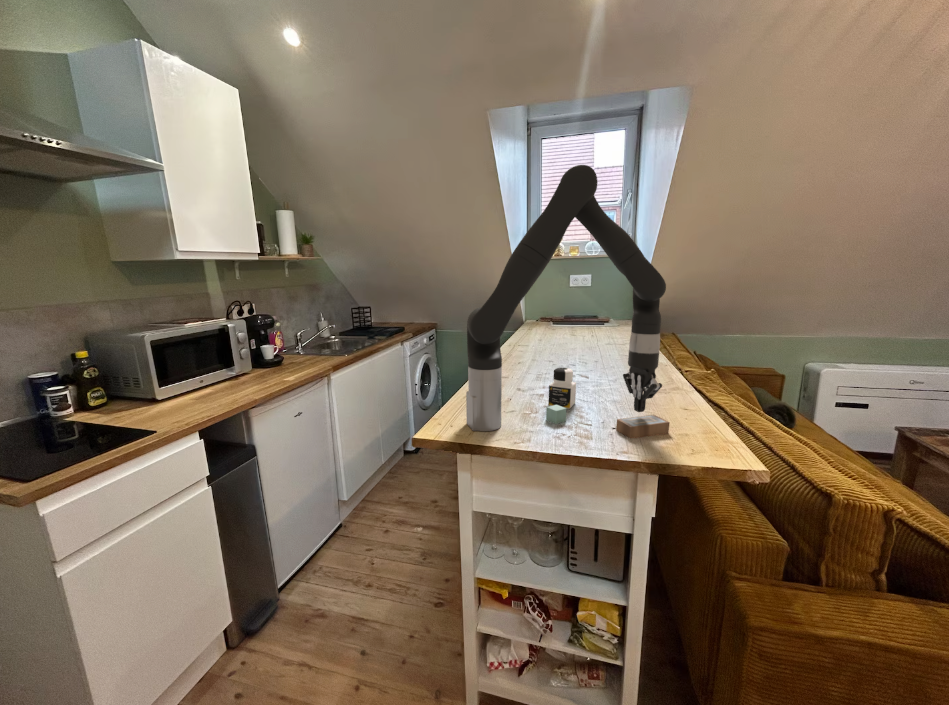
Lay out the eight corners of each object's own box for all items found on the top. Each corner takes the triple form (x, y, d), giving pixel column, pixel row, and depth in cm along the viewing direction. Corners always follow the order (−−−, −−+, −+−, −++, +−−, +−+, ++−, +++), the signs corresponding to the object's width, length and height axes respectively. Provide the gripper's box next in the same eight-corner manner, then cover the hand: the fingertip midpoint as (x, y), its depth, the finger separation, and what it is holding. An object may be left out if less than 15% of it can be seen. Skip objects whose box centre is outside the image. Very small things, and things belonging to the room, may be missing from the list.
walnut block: (630, 439, 105) (668, 434, 108) (631, 427, 104) (669, 421, 107) (616, 431, 110) (652, 426, 113) (617, 418, 109) (653, 414, 113)
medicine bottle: (548, 405, 130) (549, 370, 127) (554, 399, 136) (555, 365, 134) (569, 409, 127) (571, 372, 124) (575, 402, 133) (577, 367, 130)
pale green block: (555, 424, 115) (556, 410, 114) (546, 420, 118) (546, 407, 117) (565, 421, 117) (566, 408, 116) (556, 417, 120) (556, 404, 119)
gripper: (674, 353, 102) (668, 417, 105) (638, 344, 114) (633, 402, 118) (650, 355, 100) (644, 421, 103) (616, 346, 112) (612, 405, 115)
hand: (639, 411), depth 110 cm, fingers closed
